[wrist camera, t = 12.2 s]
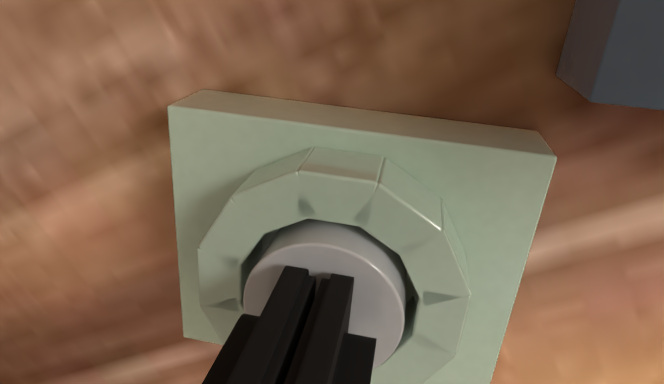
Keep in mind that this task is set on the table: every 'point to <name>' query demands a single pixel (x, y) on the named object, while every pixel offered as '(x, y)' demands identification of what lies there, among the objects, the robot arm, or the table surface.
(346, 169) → the green button base
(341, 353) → the robot arm
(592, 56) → the valve panel
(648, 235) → the table surface
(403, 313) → the grey push button
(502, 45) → the table surface
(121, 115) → the table surface
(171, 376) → the table surface
